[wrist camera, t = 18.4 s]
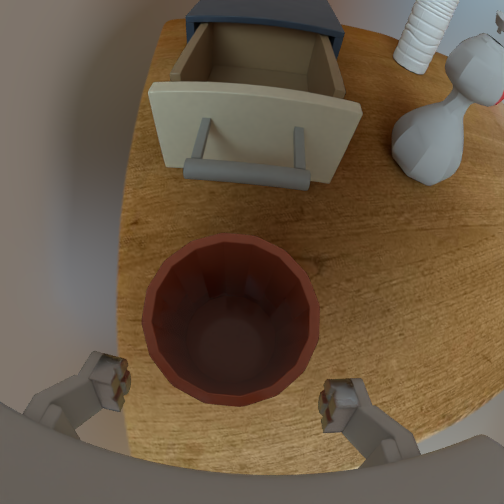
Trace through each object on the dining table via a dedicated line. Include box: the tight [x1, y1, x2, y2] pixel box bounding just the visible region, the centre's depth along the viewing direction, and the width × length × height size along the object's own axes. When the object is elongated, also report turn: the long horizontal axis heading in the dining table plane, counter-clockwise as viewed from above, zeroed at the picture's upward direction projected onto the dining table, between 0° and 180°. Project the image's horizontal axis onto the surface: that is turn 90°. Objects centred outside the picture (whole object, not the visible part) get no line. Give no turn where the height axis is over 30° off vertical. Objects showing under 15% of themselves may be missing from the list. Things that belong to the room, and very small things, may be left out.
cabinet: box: [186, 0, 345, 60], centre depth 27 cm, size 17×15×10 cm
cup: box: [142, 233, 320, 407], centre depth 14 cm, size 6×6×9 cm
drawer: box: [148, 22, 363, 191], centre depth 21 cm, size 20×13×8 cm, turn 176°
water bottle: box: [393, 0, 459, 74], centre depth 25 cm, size 9×6×25 cm
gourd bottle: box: [392, 11, 504, 186], centre depth 17 cm, size 8×8×20 cm
